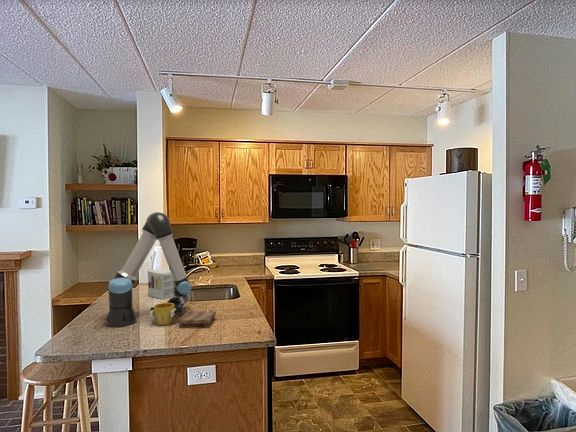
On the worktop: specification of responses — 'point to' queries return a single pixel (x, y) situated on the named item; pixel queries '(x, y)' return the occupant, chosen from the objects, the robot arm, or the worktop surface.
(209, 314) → the walnut stand
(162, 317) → the plant pot
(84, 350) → the worktop surface
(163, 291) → the supplement box
